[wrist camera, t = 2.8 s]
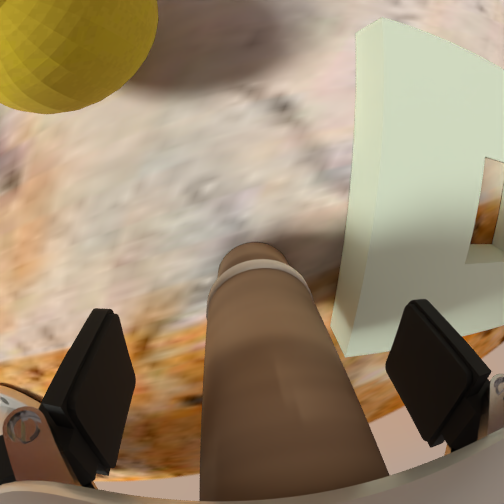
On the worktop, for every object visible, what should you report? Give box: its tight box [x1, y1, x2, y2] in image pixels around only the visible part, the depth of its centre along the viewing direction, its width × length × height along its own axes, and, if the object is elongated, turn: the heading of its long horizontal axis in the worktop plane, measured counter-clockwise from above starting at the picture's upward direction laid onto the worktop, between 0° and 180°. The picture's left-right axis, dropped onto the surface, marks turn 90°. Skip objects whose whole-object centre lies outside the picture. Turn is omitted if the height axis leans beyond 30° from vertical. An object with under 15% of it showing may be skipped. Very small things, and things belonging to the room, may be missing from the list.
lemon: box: [0, 0, 159, 114], centre depth 6 cm, size 6×6×8 cm
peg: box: [200, 242, 389, 501], centre depth 9 cm, size 4×4×11 cm
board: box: [330, 17, 504, 357], centre depth 12 cm, size 14×16×2 cm
